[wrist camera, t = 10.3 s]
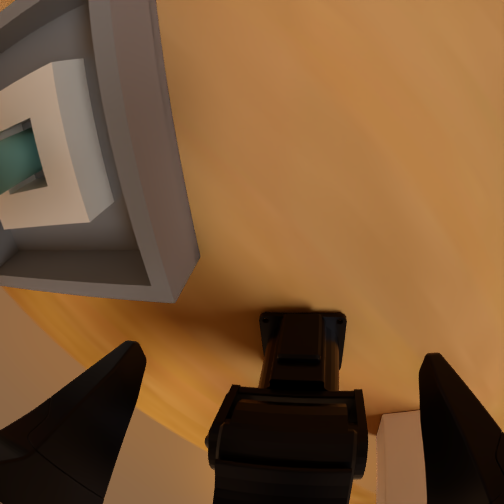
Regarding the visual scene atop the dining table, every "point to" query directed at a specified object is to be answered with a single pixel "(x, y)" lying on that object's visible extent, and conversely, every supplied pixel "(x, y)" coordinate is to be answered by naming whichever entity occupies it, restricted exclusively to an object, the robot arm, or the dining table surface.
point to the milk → (400, 460)
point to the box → (93, 153)
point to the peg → (18, 159)
